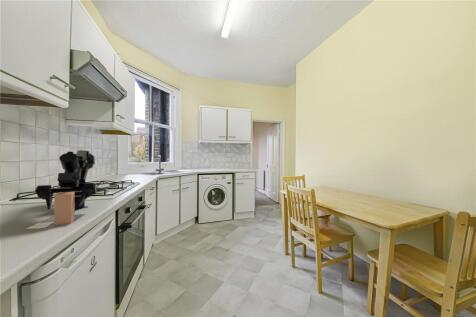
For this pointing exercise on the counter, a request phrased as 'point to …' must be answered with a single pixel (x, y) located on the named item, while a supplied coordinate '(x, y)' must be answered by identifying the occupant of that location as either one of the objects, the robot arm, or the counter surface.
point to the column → (64, 208)
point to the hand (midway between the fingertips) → (64, 207)
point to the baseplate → (51, 223)
